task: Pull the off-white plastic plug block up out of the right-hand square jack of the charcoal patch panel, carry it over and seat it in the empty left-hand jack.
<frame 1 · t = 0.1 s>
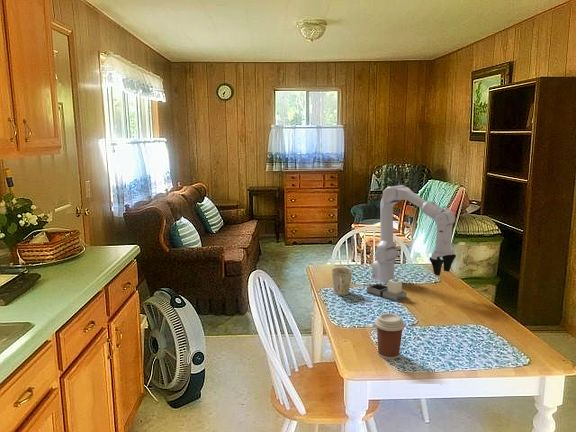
hand: (441, 273, 198), 10 cm above the table, fingers open, 7 cm apart
coffee cup: (388, 354, 149), on the table
panel: (386, 295, 200), on the table
plug: (394, 297, 197), resting on panel
mug: (341, 295, 201), on the table
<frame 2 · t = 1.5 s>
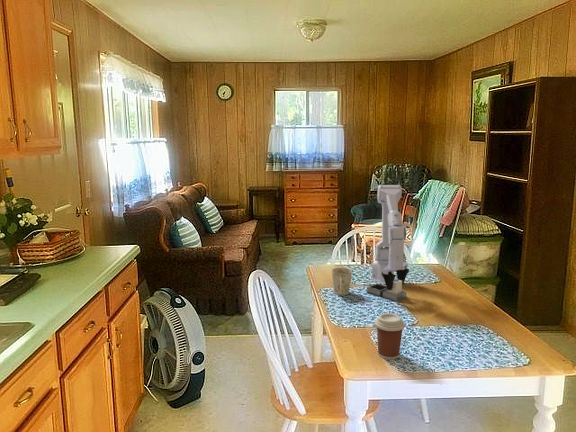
hand: (394, 287, 197), 5 cm above the table, fingers open, 7 cm apart
nothing on the table moved.
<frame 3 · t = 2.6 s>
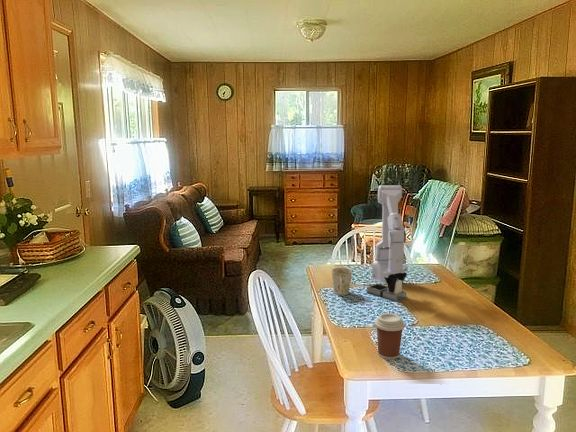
hand: (394, 290, 197), 3 cm above the table, fingers closed on plug, 4 cm apart
plug: (394, 297, 197), resting on panel, touching gripper
everything else where it was.
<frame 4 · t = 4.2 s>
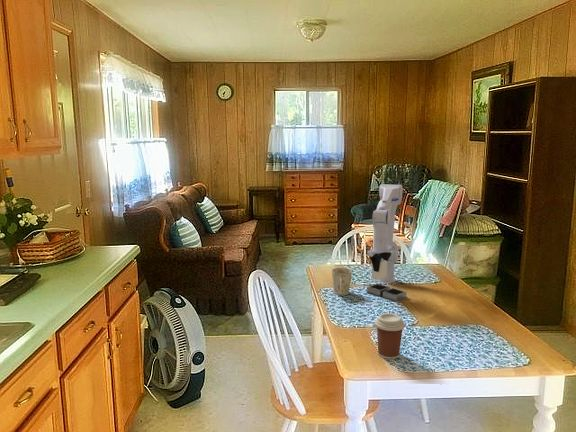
hand: (379, 270, 201), 10 cm above the table, fingers closed on plug, 4 cm apart
plug: (379, 277, 202), point 7 cm above the table, touching gripper
everything else where it was.
when the fingers open (4 cm above the table, at t = 5.6 s): plug stays where it is, resting on panel.
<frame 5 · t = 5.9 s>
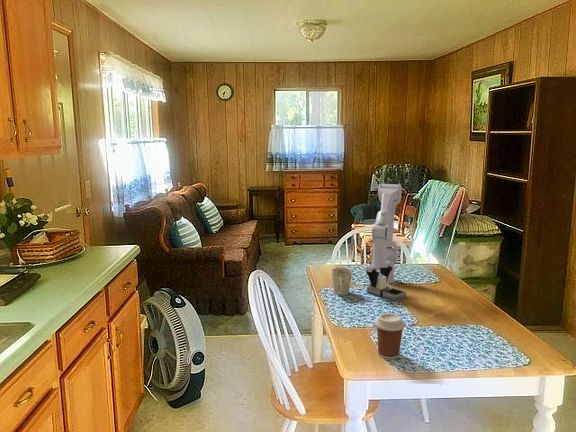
hand: (378, 285, 203), 4 cm above the table, fingers open, 6 cm apart
plug: (379, 292, 203), resting on panel
everything else where it was.
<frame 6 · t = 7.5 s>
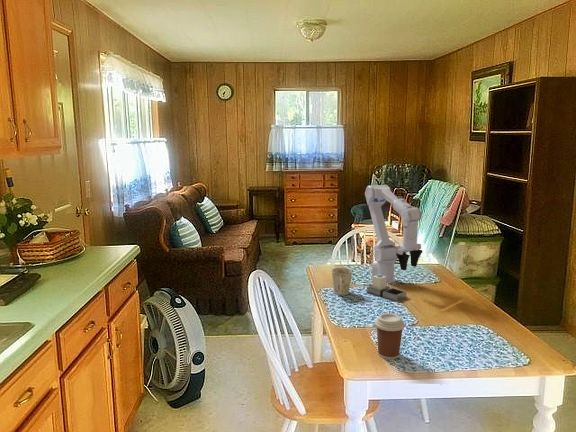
hand: (408, 268, 204), 10 cm above the table, fingers open, 7 cm apart
nothing on the table moved.
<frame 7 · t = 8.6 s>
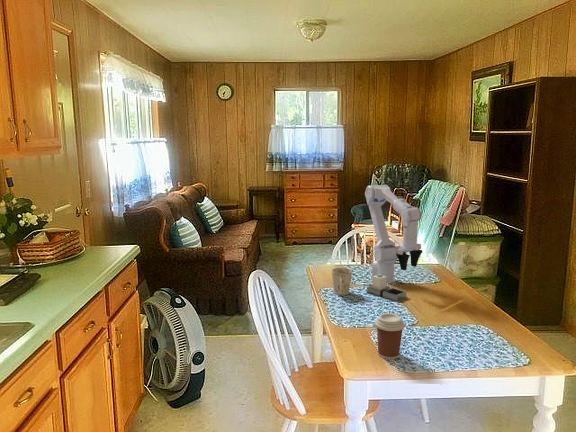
hand: (408, 268, 204), 10 cm above the table, fingers open, 7 cm apart
nothing on the table moved.
at the end: plug 0.3 cm from the target spot on the panel, point 0.5 cm above the panel's base; plug tilted 0°; the gripper is holding nothing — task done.
